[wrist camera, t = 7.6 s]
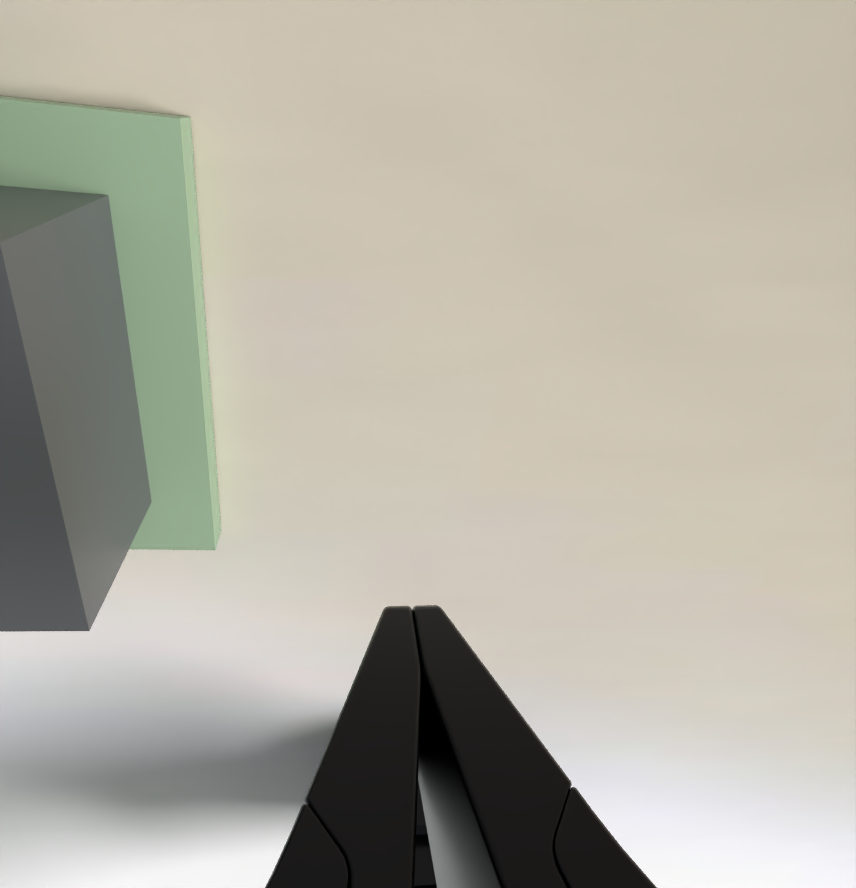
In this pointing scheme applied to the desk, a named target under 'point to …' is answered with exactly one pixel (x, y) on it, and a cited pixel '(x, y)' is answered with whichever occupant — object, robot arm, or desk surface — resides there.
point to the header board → (141, 285)
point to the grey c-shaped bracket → (64, 412)
